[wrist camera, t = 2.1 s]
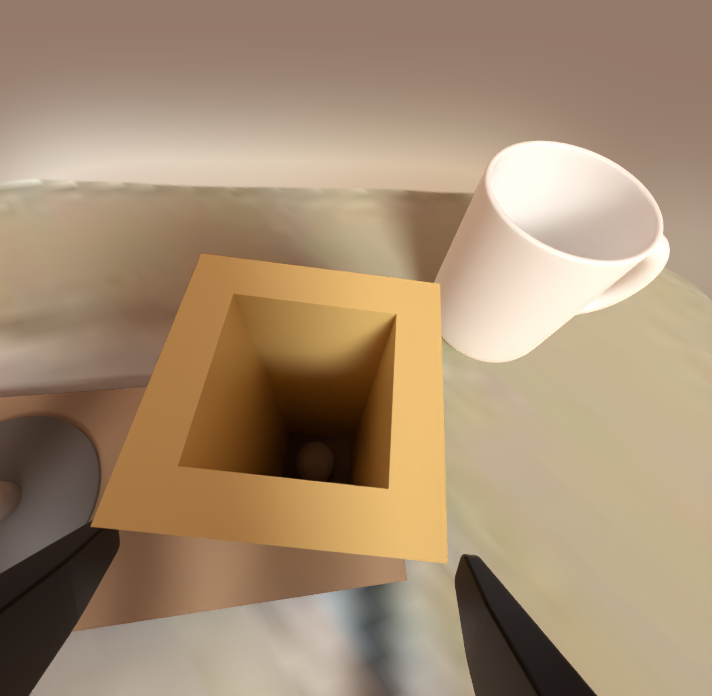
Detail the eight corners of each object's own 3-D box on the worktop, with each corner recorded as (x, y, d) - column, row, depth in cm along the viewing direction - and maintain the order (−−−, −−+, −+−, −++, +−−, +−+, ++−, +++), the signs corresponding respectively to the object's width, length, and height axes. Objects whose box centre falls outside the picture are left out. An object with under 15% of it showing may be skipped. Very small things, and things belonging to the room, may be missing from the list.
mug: (573, 283, 27) (702, 160, 18) (599, 379, 23) (780, 286, 14) (425, 264, 26) (478, 129, 17) (426, 359, 23) (495, 250, 13)
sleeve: (363, 533, 17) (447, 563, 5) (252, 521, 17) (90, 526, 5) (372, 423, 19) (439, 283, 8) (275, 412, 19) (201, 253, 8)
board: (373, 374, 22) (384, 343, 18) (403, 577, 17) (427, 595, 13) (-33, 405, 19) (-126, 375, 15) (-139, 660, 14) (-318, 714, 10)
